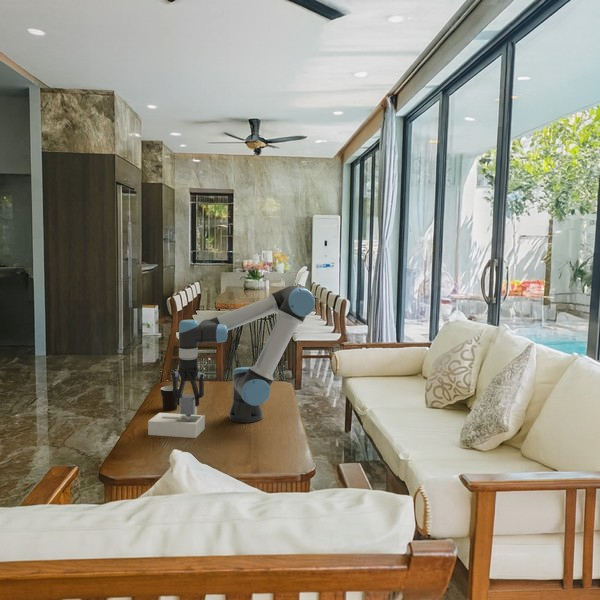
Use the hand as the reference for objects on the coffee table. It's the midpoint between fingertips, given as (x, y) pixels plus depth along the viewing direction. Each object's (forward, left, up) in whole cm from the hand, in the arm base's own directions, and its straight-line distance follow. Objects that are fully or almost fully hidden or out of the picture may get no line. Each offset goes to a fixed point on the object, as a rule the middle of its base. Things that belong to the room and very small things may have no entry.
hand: (188, 413), depth 229 cm
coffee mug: (+19, -32, -8) cm, 38 cm away
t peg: (0, 0, -7) cm, 7 cm away
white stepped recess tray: (+5, 0, -8) cm, 9 cm away
